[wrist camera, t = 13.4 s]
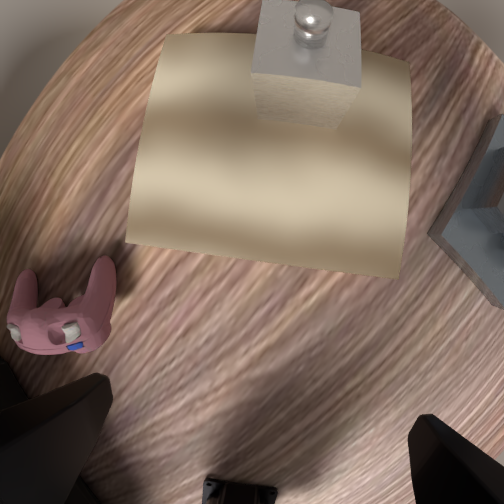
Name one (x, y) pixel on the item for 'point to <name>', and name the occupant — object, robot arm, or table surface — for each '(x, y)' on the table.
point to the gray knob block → (306, 62)
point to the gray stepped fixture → (478, 216)
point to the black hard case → (10, 393)
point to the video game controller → (63, 314)
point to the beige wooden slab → (271, 165)
